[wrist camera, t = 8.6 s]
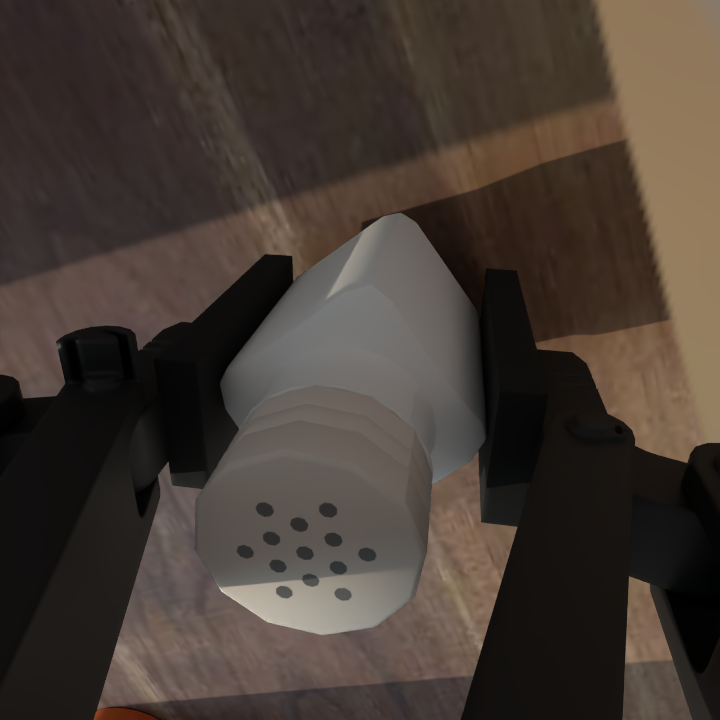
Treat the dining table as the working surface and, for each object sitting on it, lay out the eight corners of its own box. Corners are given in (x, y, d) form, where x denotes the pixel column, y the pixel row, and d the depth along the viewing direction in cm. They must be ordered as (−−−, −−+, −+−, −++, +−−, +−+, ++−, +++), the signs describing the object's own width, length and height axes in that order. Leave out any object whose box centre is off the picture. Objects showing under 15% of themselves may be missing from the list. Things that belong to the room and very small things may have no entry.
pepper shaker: (286, 281, 17) (102, 507, 8) (404, 197, 15) (330, 367, 7) (371, 389, 18) (286, 686, 9) (489, 320, 16) (517, 601, 8)
